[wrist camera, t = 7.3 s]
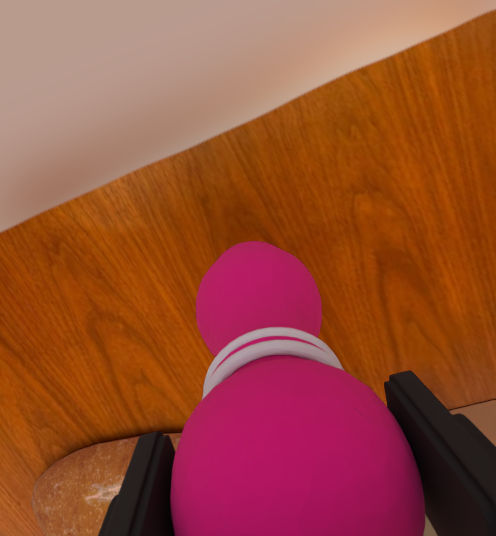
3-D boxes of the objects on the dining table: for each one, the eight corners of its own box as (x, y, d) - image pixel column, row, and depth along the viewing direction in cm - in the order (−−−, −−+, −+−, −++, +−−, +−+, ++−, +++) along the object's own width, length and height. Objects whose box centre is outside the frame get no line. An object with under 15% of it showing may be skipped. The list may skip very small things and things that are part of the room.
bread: (35, 417, 37) (-25, 489, 29) (343, 429, 39) (374, 498, 31) (46, 536, 42) (-2, 628, 33) (322, 540, 44) (344, 628, 35)
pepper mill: (183, 263, 23) (-69, 707, 4) (277, 214, 22) (549, 448, 3) (232, 345, 25) (231, 929, 6) (319, 303, 24) (657, 792, 5)
